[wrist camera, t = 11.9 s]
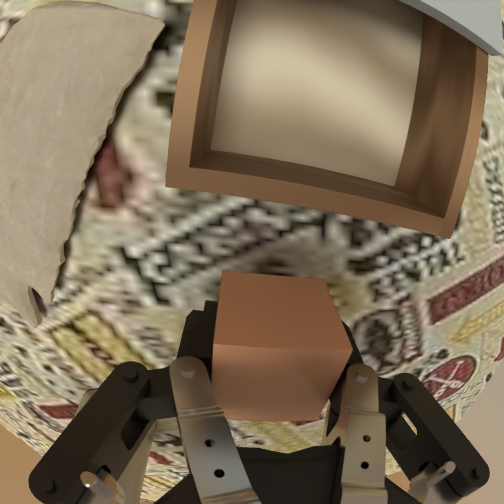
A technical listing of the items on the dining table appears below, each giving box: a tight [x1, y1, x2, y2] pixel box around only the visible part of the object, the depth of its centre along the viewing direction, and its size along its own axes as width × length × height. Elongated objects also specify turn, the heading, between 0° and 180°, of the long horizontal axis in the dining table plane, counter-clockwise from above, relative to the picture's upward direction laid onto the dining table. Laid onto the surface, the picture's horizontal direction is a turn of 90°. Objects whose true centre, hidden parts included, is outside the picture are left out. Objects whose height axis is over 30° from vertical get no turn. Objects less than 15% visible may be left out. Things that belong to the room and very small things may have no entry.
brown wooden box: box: [165, 0, 488, 239], centre depth 9 cm, size 16×12×6 cm
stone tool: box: [0, 1, 165, 328], centre depth 14 cm, size 13×4×25 cm
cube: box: [211, 270, 353, 421], centre depth 12 cm, size 4×4×4 cm
